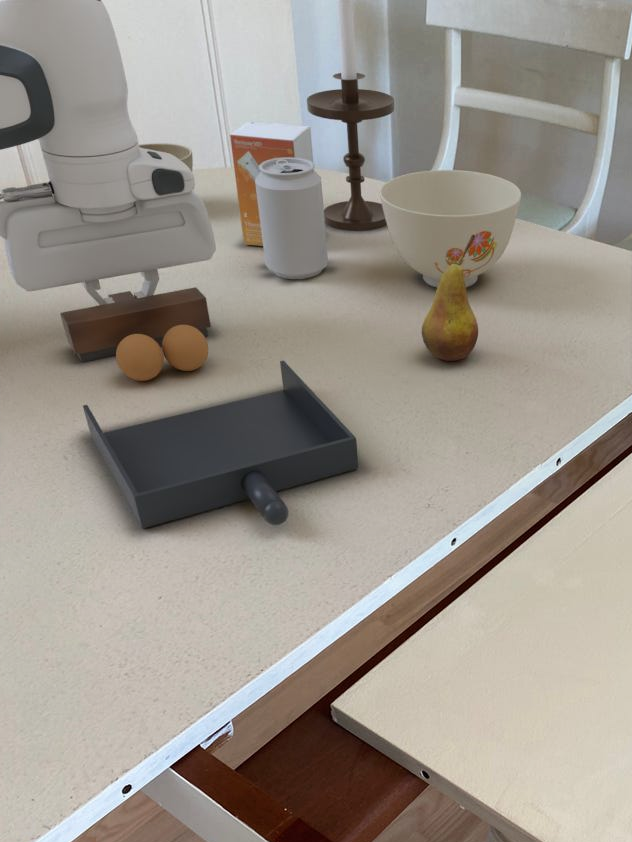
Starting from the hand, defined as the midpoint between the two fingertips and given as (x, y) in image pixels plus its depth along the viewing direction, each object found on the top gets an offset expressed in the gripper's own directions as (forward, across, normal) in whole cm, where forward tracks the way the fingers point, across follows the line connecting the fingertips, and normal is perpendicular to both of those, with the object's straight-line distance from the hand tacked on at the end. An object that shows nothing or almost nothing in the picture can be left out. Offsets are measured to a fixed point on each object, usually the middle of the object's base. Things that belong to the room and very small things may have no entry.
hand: (128, 314), depth 103 cm
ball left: (-1, -2, -12) cm, 12 cm away
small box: (+2, +24, +17) cm, 30 cm away
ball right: (-1, +2, -12) cm, 12 cm away
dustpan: (+2, 0, -32) cm, 32 cm away
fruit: (+2, +27, -22) cm, 35 cm away
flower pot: (+2, +14, +35) cm, 38 cm away
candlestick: (+2, +36, +20) cm, 41 cm away
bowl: (+2, +37, -4) cm, 37 cm away
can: (+2, +22, +7) cm, 23 cm away
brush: (+2, 0, -2) cm, 2 cm away
